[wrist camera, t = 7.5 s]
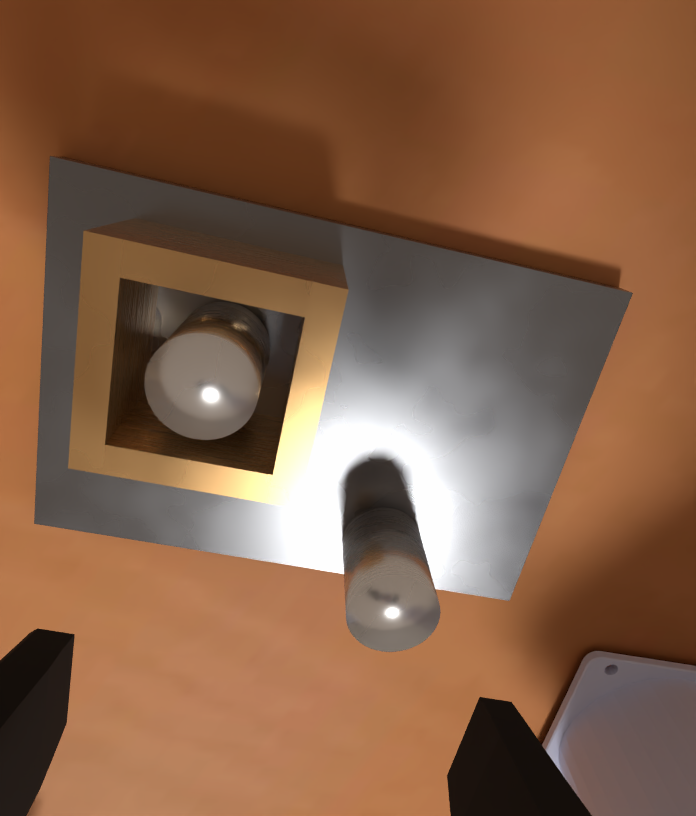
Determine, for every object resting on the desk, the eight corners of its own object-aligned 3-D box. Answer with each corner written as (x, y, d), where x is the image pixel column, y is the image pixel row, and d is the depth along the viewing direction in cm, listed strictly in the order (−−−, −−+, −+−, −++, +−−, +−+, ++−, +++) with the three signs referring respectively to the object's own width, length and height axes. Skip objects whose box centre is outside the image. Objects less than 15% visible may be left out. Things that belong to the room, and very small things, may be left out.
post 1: (278, 312, 17) (267, 346, 13) (262, 397, 18) (248, 448, 14) (184, 292, 16) (150, 322, 13) (173, 380, 17) (138, 428, 14)
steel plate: (619, 287, 18) (632, 292, 17) (502, 585, 21) (509, 600, 21) (62, 156, 16) (49, 156, 15) (45, 510, 20) (34, 523, 19)
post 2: (429, 514, 19) (451, 584, 16) (409, 579, 20) (425, 657, 17) (352, 501, 19) (358, 569, 16) (334, 567, 20) (336, 644, 17)
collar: (342, 265, 16) (348, 289, 13) (303, 446, 18) (298, 508, 15) (134, 218, 16) (83, 231, 12) (116, 411, 17) (68, 468, 14)
